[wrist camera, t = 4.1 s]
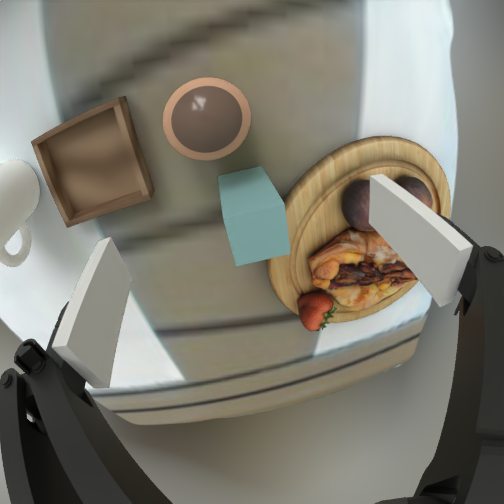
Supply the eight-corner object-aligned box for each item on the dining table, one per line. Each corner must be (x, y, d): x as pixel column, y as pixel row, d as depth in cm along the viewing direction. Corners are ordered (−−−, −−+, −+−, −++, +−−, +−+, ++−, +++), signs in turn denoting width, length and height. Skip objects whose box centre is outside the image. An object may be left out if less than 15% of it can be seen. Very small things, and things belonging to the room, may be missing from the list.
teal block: (217, 176, 30) (223, 218, 22) (261, 166, 30) (284, 204, 22) (227, 215, 33) (236, 267, 25) (268, 205, 33) (290, 254, 25)
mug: (61, 230, 30) (28, 281, 22) (22, 243, 30) (-11, 290, 21) (29, 147, 23) (-22, 180, 15) (-9, 169, 22) (-56, 205, 14)
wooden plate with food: (309, 338, 51) (322, 373, 44) (218, 208, 32) (225, 248, 26) (444, 258, 46) (468, 284, 40) (429, 102, 28) (473, 117, 21)
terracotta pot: (165, 88, 23) (153, 91, 18) (233, 72, 24) (242, 69, 18) (181, 149, 28) (175, 170, 22) (246, 134, 28) (257, 150, 22)
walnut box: (41, 136, 23) (30, 141, 21) (125, 96, 23) (118, 97, 21) (74, 217, 29) (67, 227, 27) (154, 190, 30) (150, 199, 28)
